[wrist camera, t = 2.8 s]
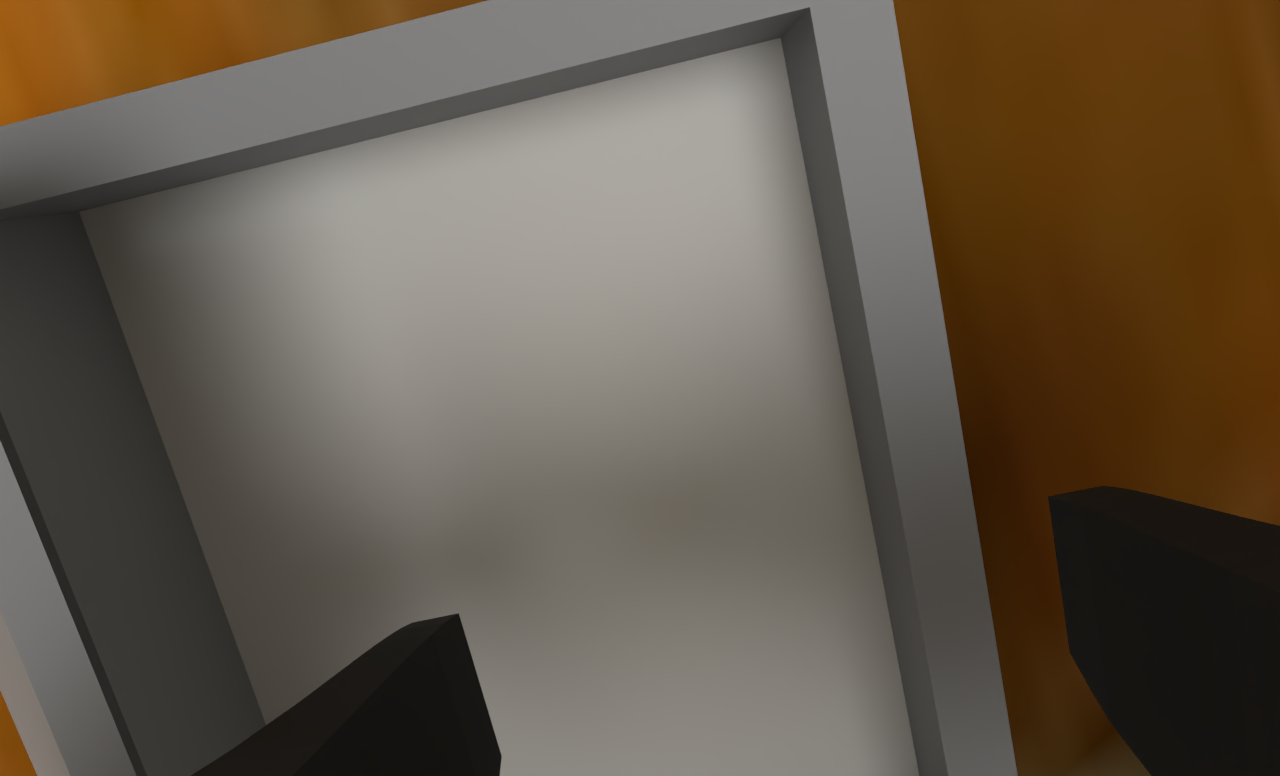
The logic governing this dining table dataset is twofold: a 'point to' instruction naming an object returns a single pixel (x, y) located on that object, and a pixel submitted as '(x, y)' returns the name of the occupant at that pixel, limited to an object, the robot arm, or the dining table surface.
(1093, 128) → the dining table surface
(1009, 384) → the dining table surface
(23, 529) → the carton flap
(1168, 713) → the robot arm
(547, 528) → the gray open box
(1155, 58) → the dining table surface
